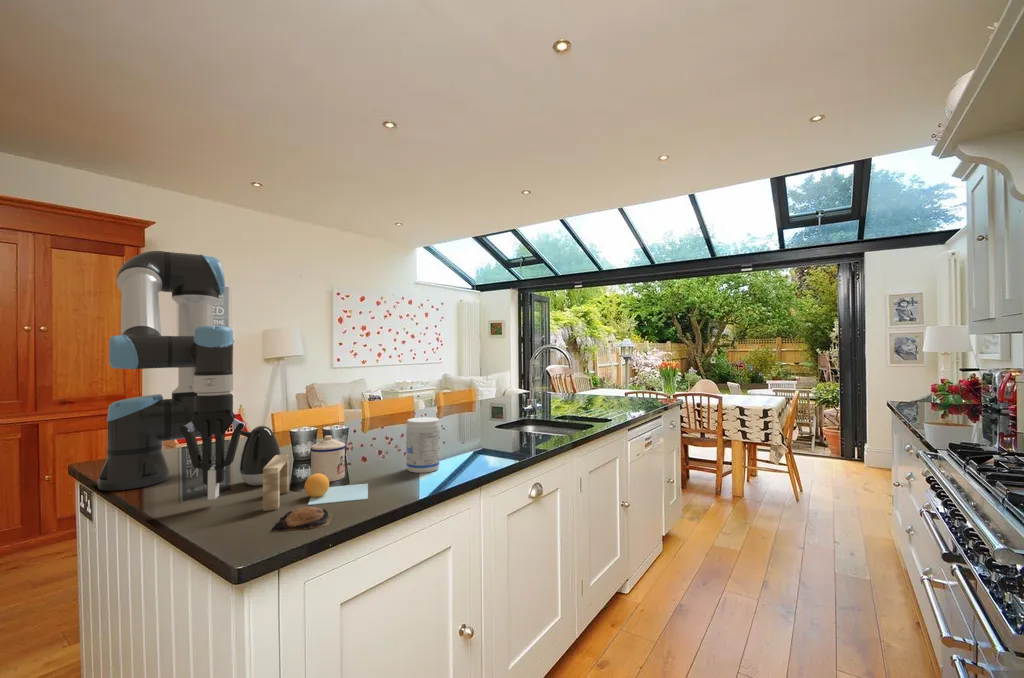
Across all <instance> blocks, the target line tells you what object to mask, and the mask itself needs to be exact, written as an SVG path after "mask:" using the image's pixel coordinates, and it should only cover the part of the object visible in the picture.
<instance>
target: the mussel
mask: <svg viewBox="0 0 1024 678" xmlns="http://www.w3.org/2000/svg"><path fill="white" fill-rule="evenodd" d="M333 516H334V515H333V513H329V512H328V511H327V510H326V509H325V508H323V509H322V508H320V507H318V506H303V507H298V508H296V509H294V510H290V511H287V512H286V513H285V514H284V515H283V516H282V517H280V518H279V521H277V522H275V524H274V526H273V527H272V528H271V529H272V530H273V531H277V532H284V531H285V532H286V531H297V530H308V529H310V530H311V529H314V528H316V529H317V528H321V527H328V526H330V522H331V520H332V517H333Z"/></svg>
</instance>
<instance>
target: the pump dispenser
mask: <svg viewBox="0 0 1024 678" xmlns="http://www.w3.org/2000/svg"><path fill="white" fill-rule="evenodd" d="M240 436H243V437H246V440H245V442H244V445H243V447H242V451H241V454H240V460H239V466H238V471H239V474H240V476H241V479H242V480H243V482H244V483H246V485H247V484H248V485H249V486H254V487H255V486H263V468H264V467H265V466H266V465H267V464H268V463H269V462H270V461H271V460H272V458H273V457H274V456H275V455H282V451H281V448H280V445H279V444H280V443H279V441H278V440H277V437H276V435H275V433H274V432H273V430H272V428H270V427H268V426H265V425H259V426H255V427H254V428H253V429H252V430H251V431H246V430H245V431H244V430H242V431H241V434H240Z"/></svg>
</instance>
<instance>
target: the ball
mask: <svg viewBox="0 0 1024 678" xmlns="http://www.w3.org/2000/svg"><path fill="white" fill-rule="evenodd" d="M329 487H330V482H329V480H328V478H327V477H326V476H325V475H323V474H320V473H317V474H313V475H311V474H310V476H308V477H307V479H306V481H305V482H304V491H305V493H306V494H307V495H308V496H309V497H310V498H311V497H320V496H322V495H324V494H325V493H326V492H327V490H328V488H329Z"/></svg>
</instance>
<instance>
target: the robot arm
mask: <svg viewBox="0 0 1024 678" xmlns="http://www.w3.org/2000/svg"><path fill="white" fill-rule="evenodd" d="M116 285H117V288H118V289H119V291H120V293H121V308H120V310H121V314H120V315H121V316H120V317H121V319H120V335H112V336H111V337H110V338H109V347H108V349H109V350H108V354H109V355H108V358H109V359H108V360H109V361H108V363H109V365H110V367H111V368H113V369H121V370H123V369H124V370H125V369H126V370H144V369H146V370H147V369H169V368H170V369H171V368H172V369H174V368H175V369H176V368H178V370H177V371H178V372H177V373H178V374H177V375H178V380H177V381H178V383H177V387H176V388H175V389H174V390H173V391H171V398H165V399H164V396H163V395H162V394H160V393H159V394H151V395H149V394H148V395H143V396H136V397H130V398H124V399H120V400H117V401H114V402H112V403H111V404H109V406H108V408H107V418H106V422H107V434H106V435H107V436H106V437H107V438H106V439H107V440H106V441H107V443H106V444H107V446H106V459H105V462H104V465H103V467H102V468H101V472H100V474H99V477H98V479H97V489H98V490H101V491H107V492H108V491H125V490H131V489H138V488H139V489H140V488H144V487H149V486H153V485H158V484H161V483H164V482H166V481H168V480H169V479H170V475H171V473H170V472H171V470H170V468H169V464H168V463H167V460H166V457H165V455H164V453H163V442H166V441H175V440H185V443H186V447H187V450H188V453H189V457H190V461H191V464H192V467H193V468H194V469H200V470H202V483H203V485H207V500H208V501H210V500H216V499H218V498H219V496H220V484H222V483H223V482H224V480H225V467H228V466H230V465H232V464H233V462H234V460H235V456H236V452H237V449H238V445H239V441H240V437H241V435H240V434H241V431H244V429H245V427H246V426H247V423H246V422H245V421H240V420H238V419H237V418H236V415H235V413H234V395H233V394H232V393H231V392H233V391H234V374H233V373H234V372H233V371H234V370H233V369H234V368H233V366H234V365H233V364H234V361H233V360H234V343H235V340H234V335H233V334H234V333H233V331H234V330H233V329H232V328H231V327H229V326H221V325H219V326H218V325H214V305H215V304H217V303H218V302H219V301H220V297H221V296H223V295H224V294H225V291H226V287H225V286H226V282H225V273H224V269H223V265H222V263H221V261H220V260H219V259H218V258H217V257H215V256H209V255H203V254H192V253H183V252H175V251H174V252H170V251H164V250H151V251H144V252H142V253H139V254H136V255H135V256H133V257H131V258H130V259H128V260H126V261H125V263H124V264H122V266H121V267H120V268H119V270H118V272H117V275H116ZM161 292H163V293H166V292H167V293H171V300H173V301H174V302H175V303H176V304H177V307H178V308H177V309H178V310H177V311H178V312H177V313H178V316H177V317H178V320H177V321H178V323H177V324H178V327H177V328H178V330H177V331H178V332H177V333H178V335H162V329H161V328H162V327H161V314H160V313H161V312H160V300H159V299H160V298H159V293H161ZM231 426H232V427H231ZM230 427H231V428H232V429H233V431H232V434H231V438H230V440H229V441H230V442H229V443H228V444H229V446H228V448H227V452H226V455H225V448H226V446H225V444H226V443H225V440H226V439H225V438H226V432H227V431H228V430H229V428H230ZM213 436H214V439H215V443H214V445H215V449H214V451H215V452H214V454H215V455H214V457H215V458H214V459H215V462H214V464H215V466H214V467H213V465H214V464H213V463H212V462H213V460H212V459H213V458H212V457H213V451H212V450H213ZM197 438H201V441H202V442H201V445H202V447H201V448H202V449H201V451H200V448H199V445H198V444H199V443H198V441H197Z"/></svg>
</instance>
